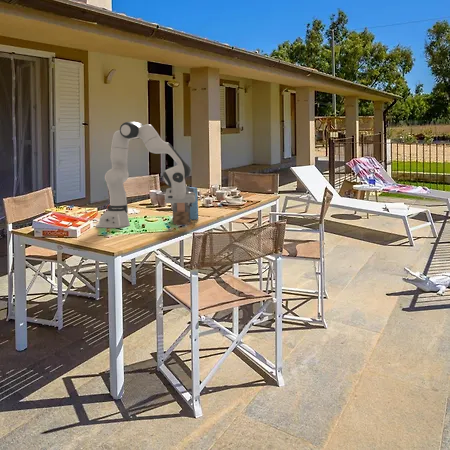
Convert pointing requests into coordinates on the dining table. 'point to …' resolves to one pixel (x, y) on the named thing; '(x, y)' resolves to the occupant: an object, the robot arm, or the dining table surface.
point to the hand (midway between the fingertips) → (180, 205)
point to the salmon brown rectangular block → (180, 207)
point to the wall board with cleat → (182, 214)
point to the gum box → (194, 205)
